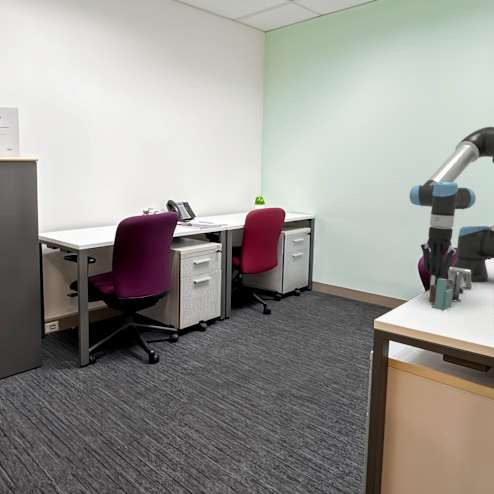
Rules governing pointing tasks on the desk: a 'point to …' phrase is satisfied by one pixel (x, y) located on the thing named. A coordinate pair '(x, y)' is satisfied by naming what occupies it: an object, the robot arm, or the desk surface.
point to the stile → (442, 295)
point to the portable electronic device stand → (464, 272)
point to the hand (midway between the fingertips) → (433, 293)
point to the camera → (452, 282)
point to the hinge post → (456, 286)
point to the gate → (433, 291)
